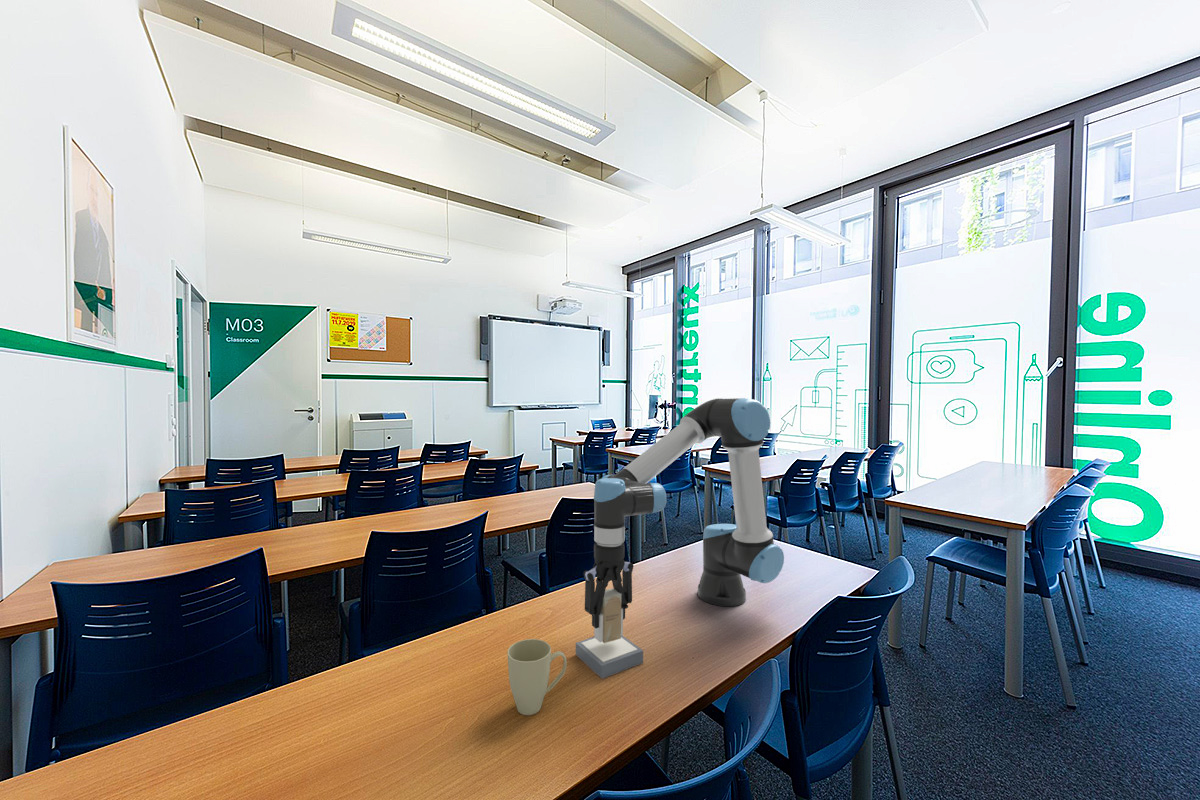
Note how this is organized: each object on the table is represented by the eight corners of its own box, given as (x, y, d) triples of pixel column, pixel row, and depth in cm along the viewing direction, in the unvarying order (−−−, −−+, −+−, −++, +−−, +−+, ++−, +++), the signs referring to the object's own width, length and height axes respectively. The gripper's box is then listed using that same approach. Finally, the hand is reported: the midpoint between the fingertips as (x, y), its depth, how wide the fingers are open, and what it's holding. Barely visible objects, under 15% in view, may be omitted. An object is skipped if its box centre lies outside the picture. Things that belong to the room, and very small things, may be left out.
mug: (535, 730, 90) (535, 668, 90) (498, 711, 96) (498, 653, 96) (568, 699, 100) (568, 643, 100) (532, 684, 105) (532, 630, 105)
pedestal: (614, 641, 124) (614, 629, 124) (643, 662, 114) (643, 649, 113) (575, 654, 117) (575, 642, 117) (601, 678, 107) (601, 665, 107)
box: (603, 644, 112) (603, 598, 112) (595, 636, 116) (594, 591, 116) (622, 638, 115) (622, 593, 114) (613, 630, 118) (613, 587, 118)
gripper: (629, 532, 123) (629, 620, 123) (569, 544, 113) (568, 639, 113) (647, 540, 117) (647, 632, 117) (585, 553, 107) (584, 654, 107)
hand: (608, 636), depth 115 cm, fingers closed on box, 5 cm apart
